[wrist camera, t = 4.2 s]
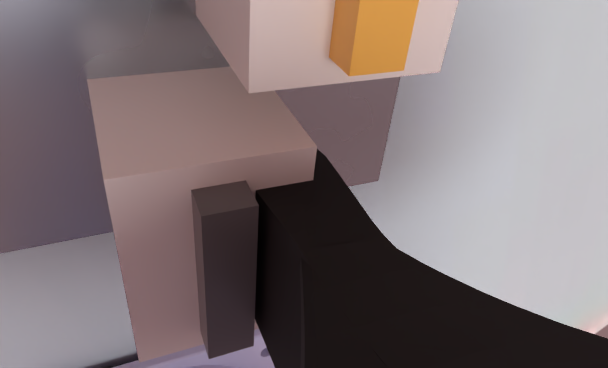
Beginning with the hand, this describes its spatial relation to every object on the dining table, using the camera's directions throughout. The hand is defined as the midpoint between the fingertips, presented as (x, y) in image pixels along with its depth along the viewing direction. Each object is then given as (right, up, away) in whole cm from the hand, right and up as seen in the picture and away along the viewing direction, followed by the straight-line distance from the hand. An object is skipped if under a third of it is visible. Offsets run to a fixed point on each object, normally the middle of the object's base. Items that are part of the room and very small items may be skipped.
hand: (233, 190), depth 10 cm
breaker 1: (-1, +1, +1) cm, 1 cm away
